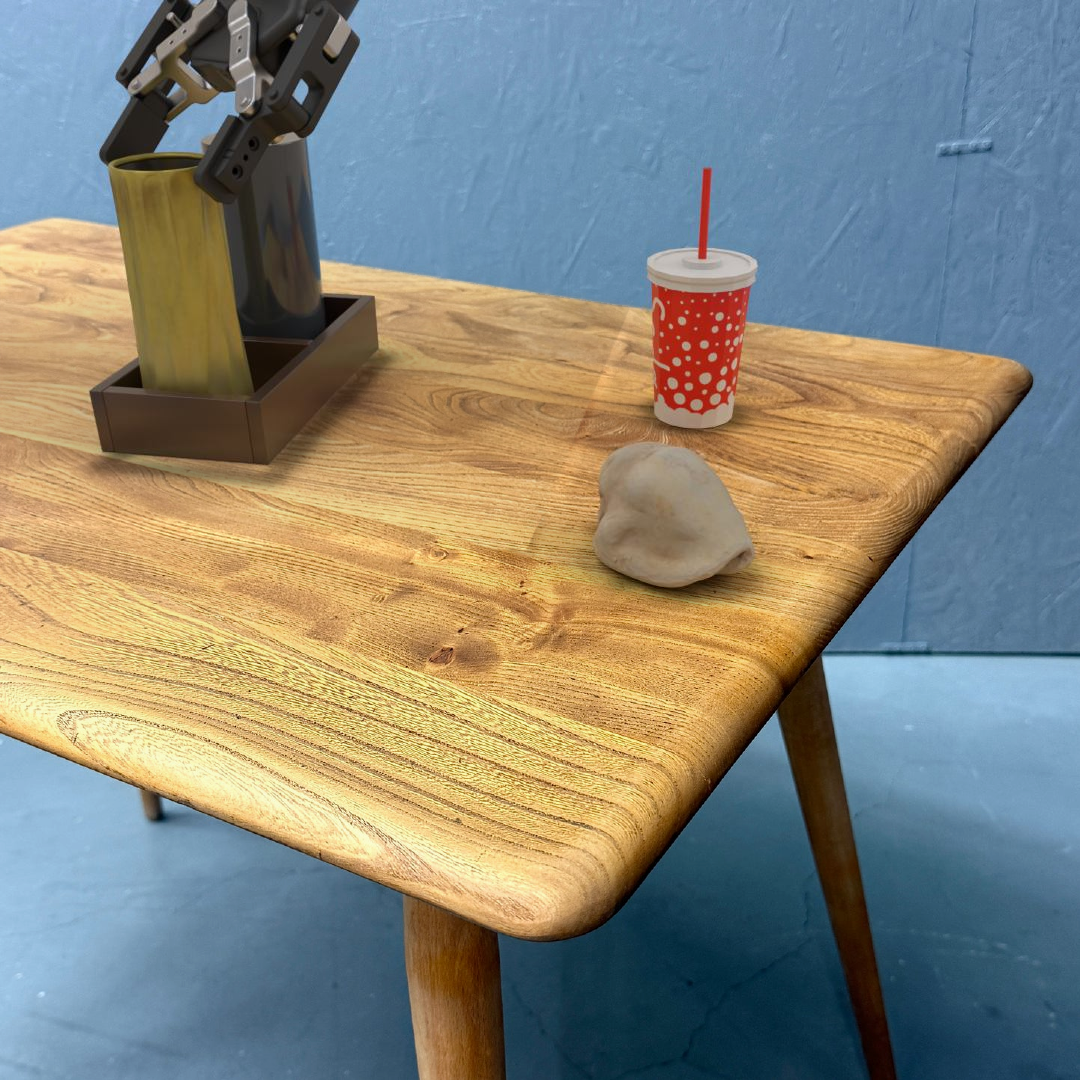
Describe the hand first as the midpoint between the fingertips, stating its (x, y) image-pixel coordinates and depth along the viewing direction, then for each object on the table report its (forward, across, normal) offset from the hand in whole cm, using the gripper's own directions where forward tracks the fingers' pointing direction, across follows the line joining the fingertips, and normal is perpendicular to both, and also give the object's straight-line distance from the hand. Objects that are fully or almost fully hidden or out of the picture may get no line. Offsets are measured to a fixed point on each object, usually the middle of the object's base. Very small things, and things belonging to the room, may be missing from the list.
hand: (160, 182), depth 58 cm
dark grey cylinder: (+3, -4, +16) cm, 17 cm away
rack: (+6, -2, +14) cm, 15 cm away
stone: (+6, +27, +15) cm, 31 cm away
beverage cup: (-5, +19, +25) cm, 32 cm away
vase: (+9, 0, +10) cm, 14 cm away
